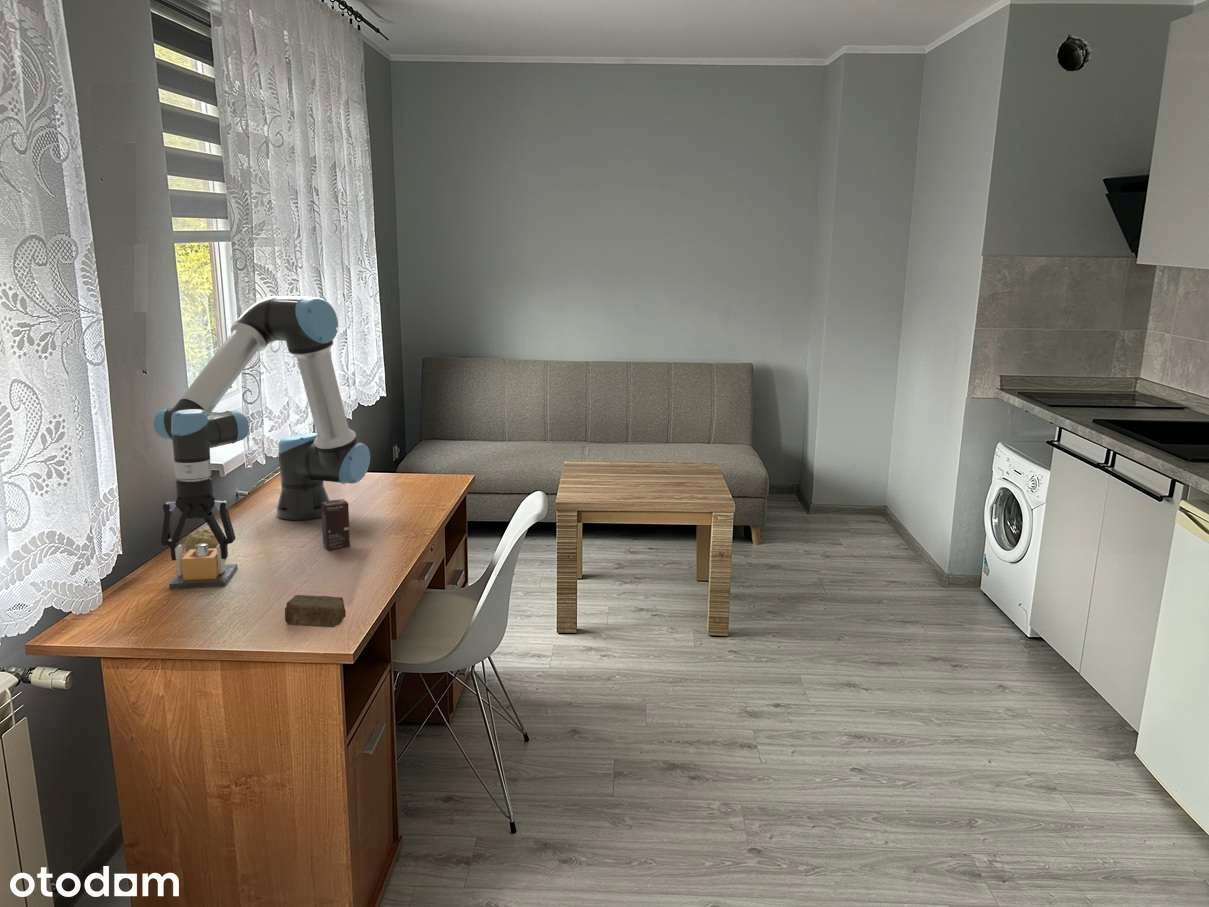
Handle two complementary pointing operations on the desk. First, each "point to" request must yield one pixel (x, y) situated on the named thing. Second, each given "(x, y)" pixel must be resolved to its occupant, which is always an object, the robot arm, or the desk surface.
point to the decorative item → (201, 539)
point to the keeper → (199, 583)
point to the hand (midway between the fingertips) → (201, 572)
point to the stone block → (315, 611)
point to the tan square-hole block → (200, 565)
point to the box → (335, 524)
